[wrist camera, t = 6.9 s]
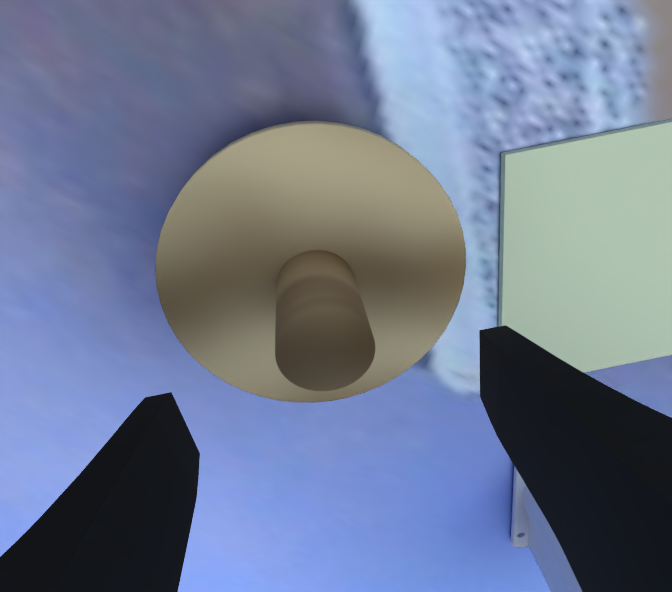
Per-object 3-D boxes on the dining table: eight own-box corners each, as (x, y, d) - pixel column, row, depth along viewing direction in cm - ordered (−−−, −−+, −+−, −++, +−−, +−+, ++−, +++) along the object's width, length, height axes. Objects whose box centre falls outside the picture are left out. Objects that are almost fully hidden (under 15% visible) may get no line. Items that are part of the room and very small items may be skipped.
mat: (684, 346, 24) (690, 351, 24) (497, 384, 24) (500, 389, 23) (750, 103, 18) (760, 104, 18) (501, 152, 18) (505, 155, 17)
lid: (467, 354, 18) (517, 439, 14) (222, 413, 18) (207, 513, 14) (443, 82, 13) (511, 101, 9) (104, 167, 13) (34, 221, 9)
